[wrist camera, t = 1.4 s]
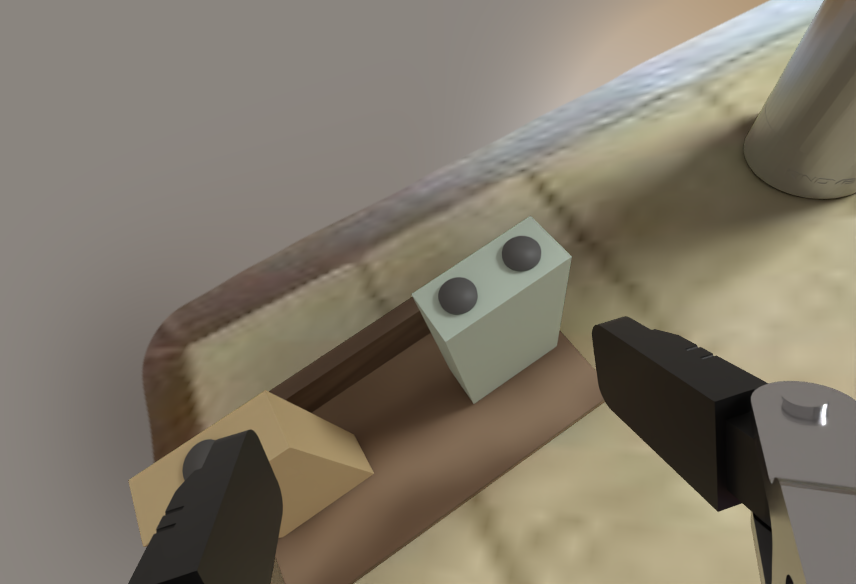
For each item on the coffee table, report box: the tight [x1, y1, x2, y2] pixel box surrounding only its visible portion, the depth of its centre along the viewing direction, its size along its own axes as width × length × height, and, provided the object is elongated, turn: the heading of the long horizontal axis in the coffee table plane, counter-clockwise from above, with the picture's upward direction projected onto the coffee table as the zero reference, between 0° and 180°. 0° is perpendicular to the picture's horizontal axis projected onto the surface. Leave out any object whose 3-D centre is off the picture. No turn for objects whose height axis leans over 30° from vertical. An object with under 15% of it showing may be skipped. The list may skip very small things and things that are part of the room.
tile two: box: [411, 216, 572, 404], centre depth 26 cm, size 3×7×12 cm, turn 122°
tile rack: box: [269, 297, 605, 584], centre depth 30 cm, size 12×24×6 cm, turn 122°
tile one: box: [128, 390, 374, 547], centre depth 25 cm, size 3×7×12 cm, turn 122°
